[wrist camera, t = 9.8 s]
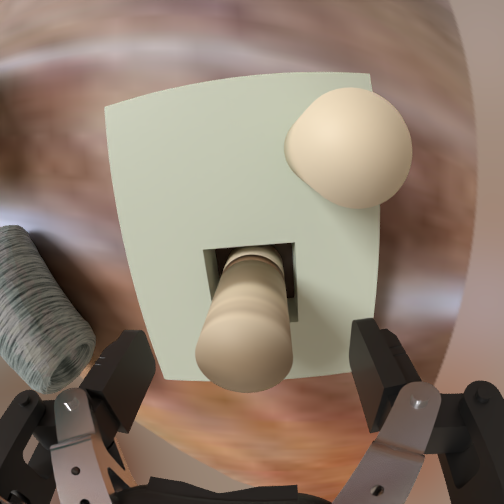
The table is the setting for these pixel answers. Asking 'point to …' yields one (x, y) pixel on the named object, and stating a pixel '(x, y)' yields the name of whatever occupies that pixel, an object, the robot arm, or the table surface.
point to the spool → (38, 318)
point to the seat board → (256, 201)
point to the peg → (247, 324)
